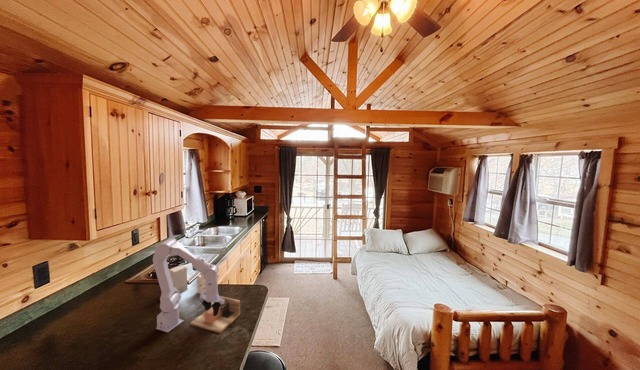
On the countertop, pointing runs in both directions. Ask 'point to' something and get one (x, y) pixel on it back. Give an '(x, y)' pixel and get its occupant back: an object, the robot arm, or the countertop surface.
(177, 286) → the skincare box
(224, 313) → the bookend
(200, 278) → the ink cartridge box
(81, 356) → the countertop surface
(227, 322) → the shelf
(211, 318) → the salmon orange block
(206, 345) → the countertop surface
